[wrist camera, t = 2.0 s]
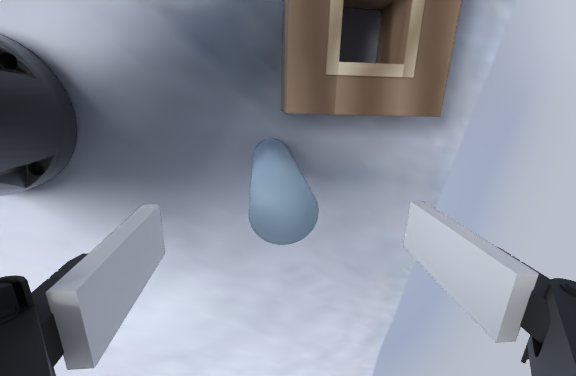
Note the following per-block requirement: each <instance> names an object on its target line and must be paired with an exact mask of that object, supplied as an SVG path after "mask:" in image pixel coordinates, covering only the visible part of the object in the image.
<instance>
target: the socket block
mask: <svg viewBox="0 0 576 376" xmlns="http://www.w3.org/2000/svg"><path fill="white" fill-rule="evenodd" d="M461 1H462V0H283V31H282V91H281V111H283V112H285V113H286V114H333V115H383V116H433V117H440V114H441V109H442V103H443V98H444V92H445V87H446V82H447V76H448V71H449V65H450V60H451V55H452V49H453V44H454V38H455V33H456V28H457V22H458V17H459V12H460V6H461ZM343 7H345V8H362V9H378V10H382V12H381V21H380V30H379V39H378V48H377V57H376V63H357V62H339V55H340V41H341V28H342V14H343Z"/></svg>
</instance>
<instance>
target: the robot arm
mask: <svg viewBox="0 0 576 376" xmlns="http://www.w3.org/2000/svg"><path fill="white" fill-rule="evenodd" d="M75 142H76V120H75V115H74V111H73V107H72V104H71V102H70V99H69V97H68V95H67V93H66V91H65V89H64V88H63V86H62V84H61V83H60V81H59V80H58V79H57V77H56V76H55V75H54V73H53V72H52V71H51V70H50V69H49V68H48V66H47V65H46V64H45V63H44V62H43V61H41V60H40V59H39V58H38V57H37V56H36V55H35V54H33V53H32V52H31V51H29V50H28V49H27V48H25V47H24V46H22V45H20V44H19V43H17V42H15V41H13V40H11V39H9V38H7V37H5V36H3V35H0V196H4V195H10V194H15V193H19V192H23V191H26V190H28V189H31V188H33V187H36V186H38V185H41V184H43V183H45V182H47V181H49V180H51V179H52V178H54V177H55V176H56V175H57V174H59V173H60V172H61V171H62V169H63V168H64V167H65V166H66V164H67V163H68V161H69V160H70V158H71V156H72V153H73V150H74V147H75ZM403 247H404V248H405V249H406V250H407V251H408V252H409V253H410V254H411V255H412V256H413V257H414V258H415V260H416V261H418V263H419V264H421V266H422V267H423V268H424V269H425V270H426V271H427V272H428V273H429V274H430V275H431V276H432V277H433V278H434V279H435V280H436V281H437V282H438V283H439V284H440V285H441V286H442V287H443V289H444V290H445V291H446V292H448V294H449V295H450V296H451V297H452V298H453V299H454V300H455V301H456V302H457V303H458V304H459V305H460V306H461V307H462V308H463V309H464V310H465V311H466V312H467V313H468V314H469V316H470V317H471V318H472V319H473V320H474V321H475V322H476V323H477V324H478V325H479V326H480V327H481V328H482V329H483V330H484V331H485V332H486V333H487V334H488V335H489V336H490V337H491V338H492V339H493V340H494V341H495V342H512V341H516V339H517V336H518V333H519V330H520V327H522V328H523V329H525V330H526V331H527V332H528V333H529V334H530V337H529V340H528V343H527V345H526V349H525V351H524V354H523V357H522V360H521V362H523V363H525V362H526V360H527V359H529V360H530V367H531V373H532V376H576V282H574V281H571V280H566V279H561V278H554V279H551V280H550V279H549V278H547V277H546V276H544V275H542V274H541V273H539V272H538V271H536V270H534V269H533V268H531V267H530V266H528V265H526V264H525V263H523V262H520V260H518V259H517V258H515V257H513V256H511V255H510V254H509V253H507V252H505V251H504V250H502V249H501V248H499V247H496V246H494V245H493V244H491V243H489V242H488V241H486V240H485V239H483V238H482V237H480V236H478V235H477V234H475V233H474V232H472V231H470V230H469V229H467V228H466V227H464V226H463V225H461V224H459V223H458V222H456V221H454V220H453V219H451V218H450V217H448V216H446V215H445V214H443V213H442V212H440V211H438V210H437V209H435V208H434V207H432V206H431V205H429V204H427V203H426V202H424V201H413V202H411V203H410V209H409V215H408V221H407V227H406V233H405V239H404V245H403ZM164 254H165V247H164V239H163V231H162V223H161V214H160V206H159V204H143V205H142V206H141V207H140V208H139V209H138V210H136V211H135V212H134V213H133V214H132V215H131V216H130V217H129V218H128V219H126V220H125V221H124V222H123V223H122V224H121V225H120V226H119V227H118V228H116V229H115V230H114V231H113V232H112V233H111V234H110V235H109V236H108V237H106V238H105V239H104V240H103V241H102V242H101V243H100V244H99V245H98V246H96V247H95V248H94V249H93V250H92V251H91V252H90V253H89V254H82V255H80V256H78V257H76V258H74V259H72V260H70V261H68V262H67V263H66V264H65V265H64V266H62V267H61V268H60V269H59V270H58V272H55V273H54V274H53V275H52V276H51V277H50V279H47V280H46V281H45V282H44V283H42V284H41V285H40V286H39V287H38V288H36V289H35V290H34V291H33V292H32V293H31V291H30V288H29V285H28V281H27V279H26V278H25V277H22V276H5V277H1V278H0V376H56V374H55V371H54V368H53V367H54V366H55V364H56V363H57V362H58V361H59V359H60V358H61V357H62V355H63V356H64V360H65V363H66V367H67V370H71V369H87V368H95V366H96V365H97V363H98V362H99V360H100V358H101V357H102V355H103V353H104V352H105V350H106V349H107V347H108V345H109V344H110V342H111V340H112V339H113V337H114V336H115V334H116V332H117V331H118V329H119V327H120V326H121V324H122V323H123V321H124V319H125V318H126V316H127V314H128V313H129V311H130V310H131V308H132V306H133V305H134V303H135V301H136V300H137V298H138V297H139V295H140V293H141V292H142V290H143V288H144V287H145V285H146V284H147V282H148V280H149V279H150V277H151V275H152V274H153V272H154V271H155V269H156V267H157V266H158V264H159V263H160V261H161V259H162V258H163V256H164Z"/></svg>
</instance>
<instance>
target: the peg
mask: <svg viewBox="0 0 576 376" xmlns="http://www.w3.org/2000/svg"><path fill="white" fill-rule="evenodd" d="M317 218H318V204H317V201H316V198H315V196H314V195H313V193H312V191H311V189H310V187H309V186H308V184H307V182H306V180H305V179H304V177H303V175H302V173H301V172H300V170H299V168H298V166H297V165H296V163H295V161H294V159H293V157H292V156H291V154H290V152H289V150H288V149H287V147H286V146H285V144H284V143H282V142H281V141H279V140H276V139H266V140H264V141H262V142H260V143H259V144H258V145H257V147H256V148H255V150H254V154H253V165H252V177H251V189H250V201H249V221H250V224H251V227H252V228H253V230H254V231H255V233H256V234H257V235H258V236H259V237H261V238H262V239H263V240H265V241H267V242H270V243H273V244H278V245H286V244H292V243H295V242H297V241H300V240H301V239H303V238H304V237H306V236H307V235H308V234H309V233H310V232H311V231H312V229H313V228H314V226H315V224H316V222H317Z"/></svg>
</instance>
